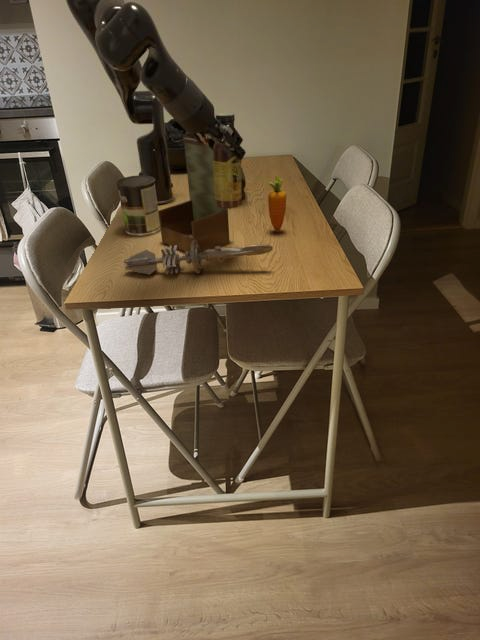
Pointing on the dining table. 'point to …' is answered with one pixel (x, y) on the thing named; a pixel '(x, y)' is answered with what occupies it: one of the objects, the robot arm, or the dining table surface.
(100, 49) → the robot arm
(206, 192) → the bottle rack
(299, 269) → the dining table surface
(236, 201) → the sauce bottle
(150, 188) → the coffee can
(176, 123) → the coal bowl
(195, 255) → the spaceship
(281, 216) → the carrot
